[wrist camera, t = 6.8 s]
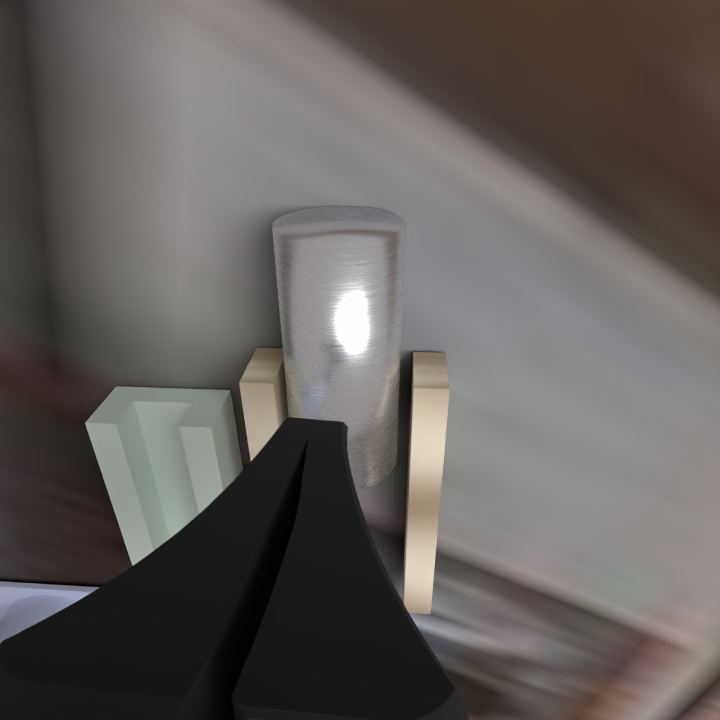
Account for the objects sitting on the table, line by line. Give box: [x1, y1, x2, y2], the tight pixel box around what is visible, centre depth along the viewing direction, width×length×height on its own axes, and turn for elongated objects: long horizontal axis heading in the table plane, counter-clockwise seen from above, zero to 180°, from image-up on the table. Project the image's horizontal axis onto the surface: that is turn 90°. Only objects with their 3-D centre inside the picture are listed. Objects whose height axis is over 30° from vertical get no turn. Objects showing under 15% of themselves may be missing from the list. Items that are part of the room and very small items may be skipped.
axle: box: [272, 206, 406, 491], centre depth 18 cm, size 9×4×4 cm, turn 0°
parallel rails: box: [239, 348, 450, 614], centre depth 22 cm, size 12×7×2 cm, turn 1°
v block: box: [85, 386, 243, 566], centre depth 23 cm, size 8×5×2 cm, turn 1°
